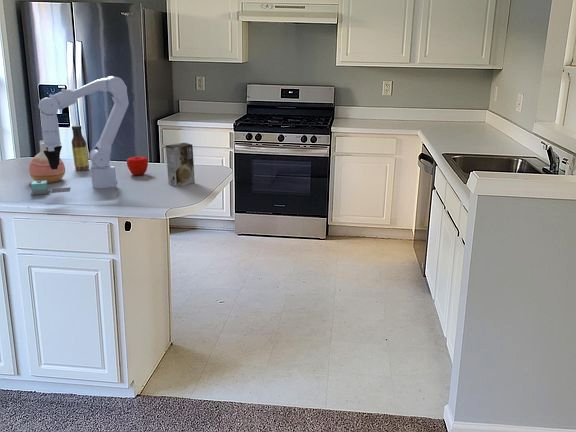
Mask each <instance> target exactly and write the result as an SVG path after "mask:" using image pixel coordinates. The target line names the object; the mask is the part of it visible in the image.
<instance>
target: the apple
mask: <svg viewBox="0 0 576 432" xmlns="http://www.w3.org/2000/svg"><path fill="white" fill-rule="evenodd" d="M126 164H127V165H126V166H127V168H128V170H129V172H130V174H131V175H132V176H142V175H145V173H146V172H147V169H148V166H149V165H148V164H149V160H148V158H147V157H145V156H132V157H129V158H126Z"/></svg>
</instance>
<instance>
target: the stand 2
mask: <svg viewBox="0 0 576 432" xmlns="http://www.w3.org/2000/svg"><path fill="white" fill-rule="evenodd" d="M66 192H67V193H68V192H71V187H58V188H52V189H51V192H50V194H54V193H66Z"/></svg>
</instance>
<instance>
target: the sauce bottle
mask: <svg viewBox="0 0 576 432" xmlns="http://www.w3.org/2000/svg"><path fill="white" fill-rule="evenodd" d="M82 128H83V127H82V125H73V126H71V129H72V136H73V137H72V139H71V150H72V156H73V165H74V167H75V168H74V169H75V171H79V172H81V171H87V170H89V169H90V161H89V153H88V147H87V142H86V140H85V138H84V136H83V132H82Z"/></svg>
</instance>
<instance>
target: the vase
mask: <svg viewBox="0 0 576 432" xmlns="http://www.w3.org/2000/svg"><path fill="white" fill-rule="evenodd" d="M41 143H44V139H43V140H39V152H38V153H37V154H35V155H34V157H33V158H32V159H31V160H30V162H29V164H28V172H29V173H28V174H29V176H30V178H31V179H32V181H43V180H47V184H53V183H58V182H60V181H61V180H62V179H63V178H64V177H65V174H66V166H65V164H64V162H63V160H62V158H60V161H59V165H58V168H57V169H51V167H50V164H49V161H48V159H47V157H46V155H45V154H44V150H47V149H46V146H44V145H41Z"/></svg>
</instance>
